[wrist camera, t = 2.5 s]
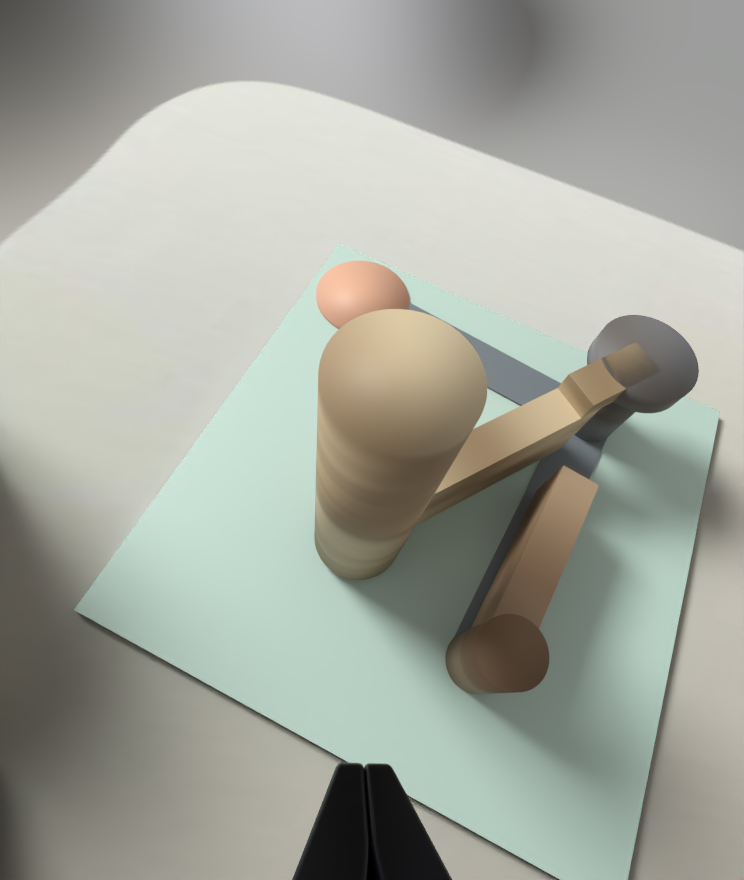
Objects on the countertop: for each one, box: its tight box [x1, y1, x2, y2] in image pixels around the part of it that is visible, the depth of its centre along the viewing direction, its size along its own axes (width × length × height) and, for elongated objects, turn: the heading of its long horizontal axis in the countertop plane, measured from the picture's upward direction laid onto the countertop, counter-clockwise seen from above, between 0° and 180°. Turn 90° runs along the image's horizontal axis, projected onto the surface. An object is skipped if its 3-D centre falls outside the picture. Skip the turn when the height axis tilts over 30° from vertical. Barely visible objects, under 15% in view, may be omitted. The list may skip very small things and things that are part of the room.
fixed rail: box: [445, 402, 635, 694], centre depth 17 cm, size 12×2×4 cm, turn 149°
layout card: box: [74, 244, 720, 880], centre depth 19 cm, size 17×17×1 cm
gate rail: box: [314, 309, 699, 580], centre depth 15 cm, size 13×3×10 cm, turn 119°
